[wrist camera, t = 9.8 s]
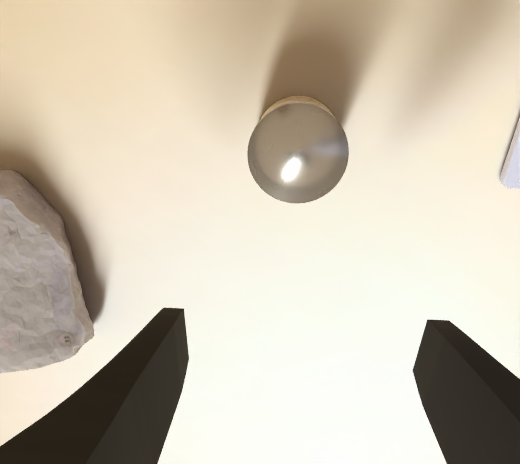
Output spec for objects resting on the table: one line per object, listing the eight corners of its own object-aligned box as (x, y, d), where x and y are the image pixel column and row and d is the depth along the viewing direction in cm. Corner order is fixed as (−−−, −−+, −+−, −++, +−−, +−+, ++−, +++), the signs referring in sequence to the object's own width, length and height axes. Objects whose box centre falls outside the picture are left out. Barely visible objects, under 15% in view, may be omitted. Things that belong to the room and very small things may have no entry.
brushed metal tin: (332, 86, 16) (342, 92, 13) (343, 170, 18) (353, 194, 15) (247, 105, 17) (237, 115, 14) (265, 185, 18) (259, 210, 15)
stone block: (45, 145, 20) (-127, 197, 20) (4, 168, 16) (-216, 234, 16) (132, 305, 26) (-3, 347, 25) (119, 354, 21) (-44, 405, 21)
